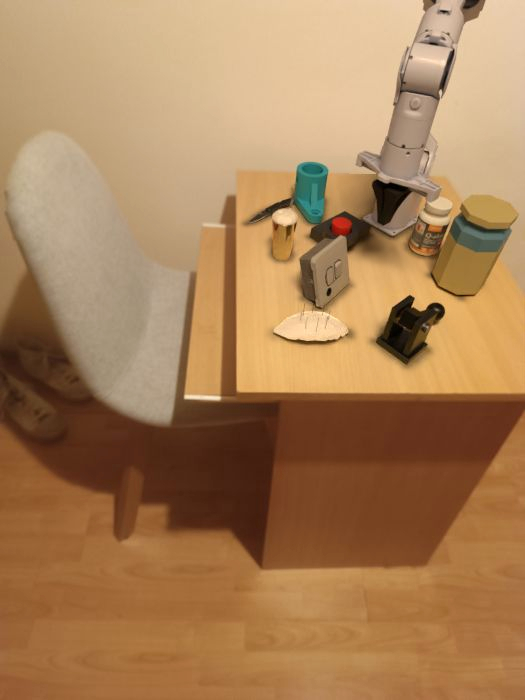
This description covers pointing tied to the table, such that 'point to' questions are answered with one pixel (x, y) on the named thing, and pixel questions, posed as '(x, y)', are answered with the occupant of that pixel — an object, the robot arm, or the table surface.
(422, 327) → the bracket
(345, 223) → the button
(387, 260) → the table surface
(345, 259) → the electrical switch
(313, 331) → the pincushion
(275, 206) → the folding knife
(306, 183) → the bracket
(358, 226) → the control block
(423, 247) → the pill bottle
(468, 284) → the jar
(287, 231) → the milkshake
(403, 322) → the lever
